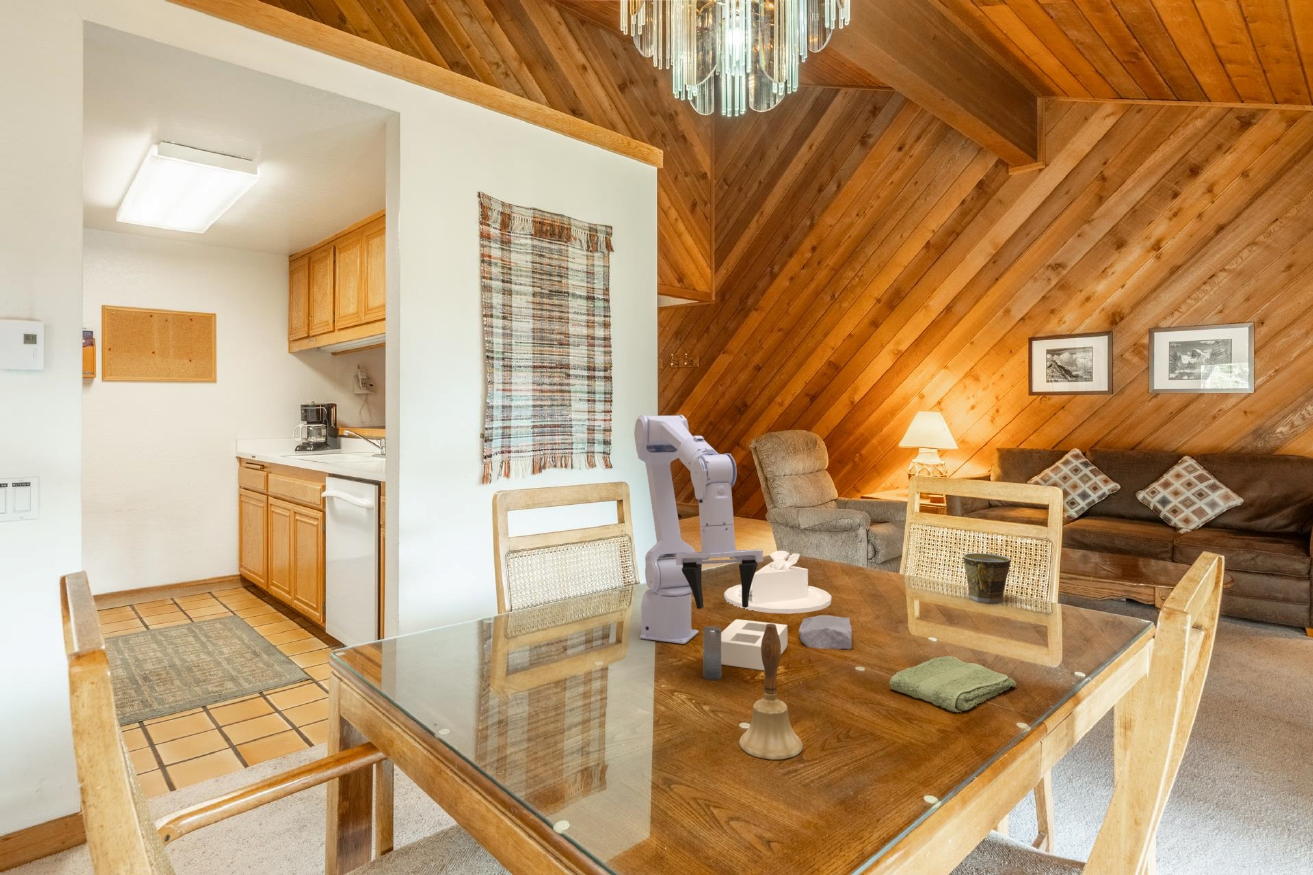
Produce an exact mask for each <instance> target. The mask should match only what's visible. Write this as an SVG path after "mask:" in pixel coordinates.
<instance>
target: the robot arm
mask: <svg viewBox="0 0 1313 875" xmlns="http://www.w3.org/2000/svg"><path fill="white" fill-rule="evenodd" d="M689 429H690V428H689V423H688V419H687V418H686V417H685V416H684V414H678V415H644V414H640V415H639V416H638V417H637V419H636V420H635V425H634V431H633V432H634V442H635V450H636V453H637V458H638V459H639V460H640V461H642V462H644V463H645V464H644V465H645V469H646V473H647V476H646V477H647V483H648V488H649V496H650V503H651V509H652V516H653V517H652V518H653V523H654V531H655V538H656V543H655V545H653V546H652V547H651V548H650V549H649V550H648V551H647V552H646V555H645V556H644V557H645V558H644V562H645V569H644V575H645V578H644V579H645V583H646V586H647V587H648V589H647V590H646V591H645V592H644V593H643V596H642V598H641V606H640V608H641V609H640V610H641V611H640V613H641V615H640V617H641V620H640V621H641V622H640V624H641V625H640V626H641V631H640V632H641V634H640V635H639V638H640V639H643V640H652V641H659V642H664V643H665V642H667V643H674V644H681V645H684V644H687V643H688V642H689V641H690V640H691V639H693V637H695V636H696V635H697V634H698V633H699V630H697V629H693V628H692V594H693V598H694V601H695V606H696V609H697V610H701V609H703V608H704V596H703V589H702V588H703V587H702V565H709V564H733V563H740V564H738V568H739V574H740V584H741V586H742V607H743V608H747V607H748V602H749V593H750V588H751V584H752V580H753V577H754V574H755V572H757V569H758V566H759V565H758V563H762V562H764V553H763V552H764V550H763V549H743V550H742V549H736V538H735V537H736V534H735V525H734V524H735V523H734V521H735V520H734V507H733V496H732V495H733V493H732V488H733V486H734V485H735V483H736V480H737V476H738V473H737V469H738V468H737V465H736V461H735V459H734V457H733V456H732V454H731V453H723V454H721V453H718V452H717V450H715V449H714V448H713V447H712V446H711V445H710V444H709V443H708V442H707V441H706V440H705V438H704V436H702V435H692V434H691V432H690V430H689ZM677 459H679V461H680V462H681V463H682V464H683V465H684V466H685V467H686V468H687V470H688V471H689V472H690V480H691V483H692V486H693V488H694V496H695V499H697V500H698V512H699V528H700V529H699V531H700V532H699V533H700V546H701V551H695V548H694V547H693V546H692V545H689V544H688V543H687V542H685V541H684V540H683V539H682V537H681V536H682V535H681V529H680V522H679V516H678V509H677V502H676V501H677V500H676V496H675V490H674V489H675V488H674V484H673V483H674V482H673V477H672V470H671V463H672V462H674V461H675V460H677ZM716 558H717V559H716ZM718 558H720V559H718ZM721 558H729V559H721ZM711 559H712V560H711ZM713 559H714V560H713ZM743 608H742V609H743Z"/></svg>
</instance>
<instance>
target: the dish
mask: <svg viewBox="0 0 1313 875" xmlns="http://www.w3.org/2000/svg"><path fill="white" fill-rule="evenodd" d="M800 556H801V554H800V553H792V554H791V553H790V552H788V551H785V550H776V551H773V552H772V553H770V554H769V557H770V558H771V559H772V560H773V561H771V562H769V563H768V564H766V565H765V566H763V567H761V568H760V569H759V570H756V571H755V574H754V577H753V580H752V584H751V588H750V593H749V602H748V607H747V608H745V609H744V610H747V609H748V611H751V610H754V611H753V612H759V613H760V612H761V613H767V614H800V613H801V614H802V613H810V612H816V611H821V610H824V609H825V608H827V607H829V606H831V604H832V595H831V594H830V593H829V592H827V590H824V589H821V588H819V587H817V586H816V587H815V586H812V585H809V569H808V568H803V567H800V566H795V564H797V562H798V561H799V558H800ZM723 596H724V599H725V601H726V603H728V602H729V603H728V604H730V605H732V604H733V605H732V606H734V607H736V606H737V607H736V608H739V607H740V608H739V609H743V607H742V586H741V583H740V584H736V585H734V586H732V587H731V586H730V587H729V588H728V587H727V589H726V590H725V591H724V592H723Z"/></svg>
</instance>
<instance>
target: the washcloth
mask: <svg viewBox="0 0 1313 875" xmlns="http://www.w3.org/2000/svg"><path fill="white" fill-rule="evenodd" d="M888 683H889V686H890V688H891V689H892V690H894V691H896V692H898V693H901V694H905V695H908V696H910V697H912V698H914V699H919V700H923V701H926V702H929V703H930V704H931V703H932V704H933V705H934V706H937V707H940V708H942V709H945V710H946V711H949V712H952V713H959V712H960V713H962V711H963V712H964V711H965V712H966V711H968V710H971V709H973V708H972V707H974V706H976V707H978V705H980V704H979V703H981V702H983V701H985V700H986V699H988V700H989V699H992V698H993V697H996V696H998V695H999V694H1002V693H1003V692H1004V691H1008V690H1010V689H1011V688H1010V687H1013V688H1015V687H1016V685H1017V682H1016V681H1015V680H1014V679H1013V678H1011V677H1009V676H1008V675H1006V674H1004V673H1000V672H997V671H994V670H992V669H990V668H987V667H985V666H983V665H980V664H978V663H975V662H974V663H973V662H972V663H971V662H965V661H962V660H960V659H958V658H957V657H955V656H951V655H950V656H949V655H948V656H946V655H945V656H940V657H933V658H930V660H927V661H923V662H921V663H919V664H917V665H916V666H915V665H914V666H912V667H906V668H905V669H903V670H900V671H897V672H896V673H895V674H894V675H892V676H891V678H890V680H889V681H888ZM1009 688H1010V689H1009ZM998 693H999V694H998ZM986 701H987V700H986ZM986 701H985V702H986ZM983 703H984V702H983ZM977 704H978V705H977ZM974 708H975V707H974Z"/></svg>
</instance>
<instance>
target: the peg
mask: <svg viewBox="0 0 1313 875" xmlns="http://www.w3.org/2000/svg"><path fill="white" fill-rule="evenodd" d="M721 632H722V628H721V627H719V626H715V625H714V626H712V625H708V626H704V627H703V628H702V634H703V635H702V636H703V637H702V650H703V653H702V661H703V666H702V672H703V673H702V676H703V678H704V679H706V680H710V681H716V680H720V679H722V664H721Z"/></svg>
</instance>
